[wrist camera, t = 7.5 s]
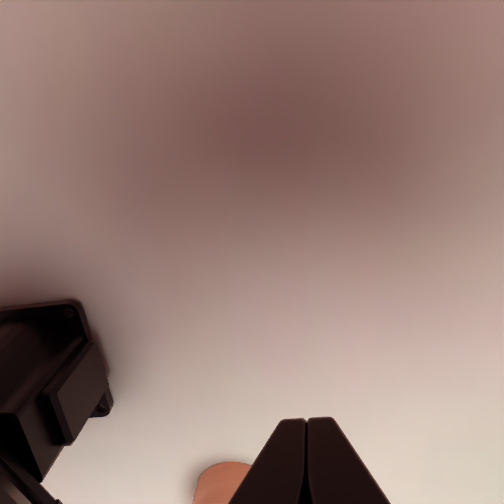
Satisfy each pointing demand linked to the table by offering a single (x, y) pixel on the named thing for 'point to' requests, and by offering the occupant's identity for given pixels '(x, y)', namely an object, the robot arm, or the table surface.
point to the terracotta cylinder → (219, 483)
